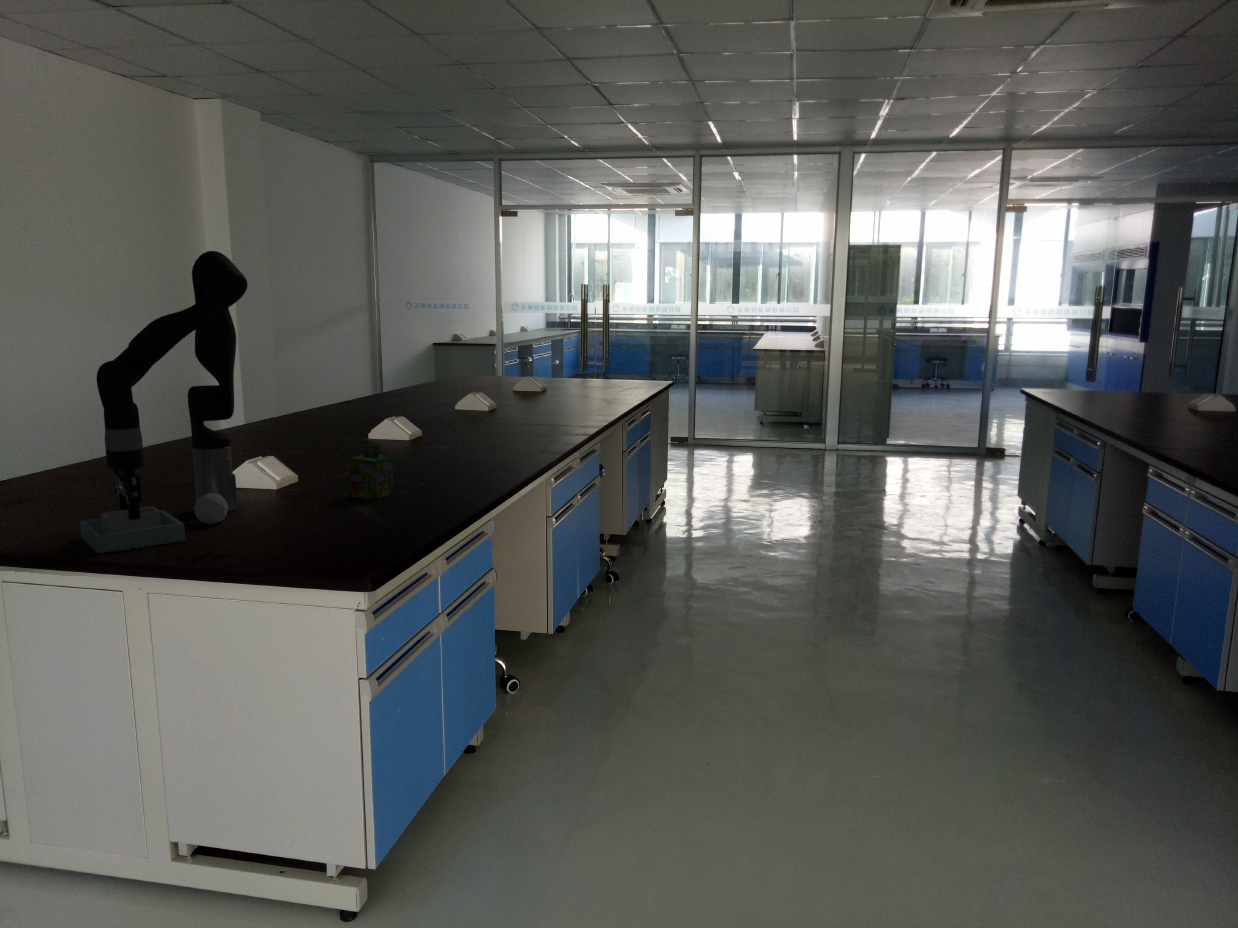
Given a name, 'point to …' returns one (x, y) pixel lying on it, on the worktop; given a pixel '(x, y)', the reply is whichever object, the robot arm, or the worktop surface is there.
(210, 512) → the geometric ball
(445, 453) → the worktop surface
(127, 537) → the teal crate
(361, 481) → the chalk box
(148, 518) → the grey crate
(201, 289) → the robot arm
